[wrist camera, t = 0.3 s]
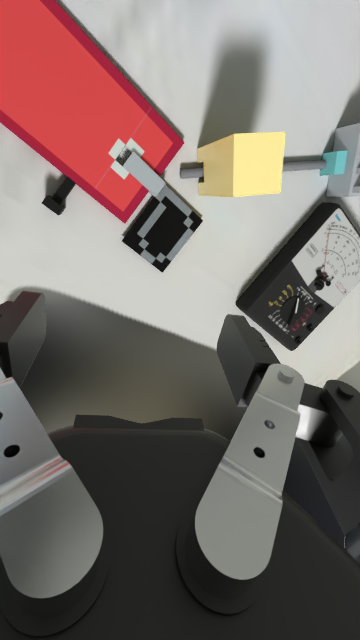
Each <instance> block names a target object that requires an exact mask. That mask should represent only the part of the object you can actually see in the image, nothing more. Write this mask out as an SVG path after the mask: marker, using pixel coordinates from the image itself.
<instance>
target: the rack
mask: <svg viewBox="0 0 360 640" xmlns="http://www.w3.org/2000/svg"><path fill="white" fill-rule="evenodd" d="M335 151H348V152H347V158H346V164H345V169H344V174H335V175H329V179H328V186H327V193H326V196H338V197H351V196H360V123H357V124H353V125H349V126H345V127H341V128H337V129H336V132H335V139H334V146H333V152H335Z"/></svg>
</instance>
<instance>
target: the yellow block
mask: <svg viewBox="0 0 360 640" xmlns="http://www.w3.org/2000/svg"><path fill="white" fill-rule="evenodd" d="M285 133H286V132H266V133H239V134H232V135H230V136H227V137H225V138H222V139H220V140H218V141H215V142H213V143H210V144H208V145H205V146H203V147H201V148H198V149H197V152H198V162H203V163H204V183H199V195H201V196H221V197H240V196H252V195H263V194H275V193H281V181H282V169H283V157H284V145H285Z"/></svg>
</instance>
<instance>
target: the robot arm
mask: <svg viewBox="0 0 360 640" xmlns="http://www.w3.org/2000/svg"><path fill="white" fill-rule="evenodd" d="M45 335H46V308H45V296H44V294H43V293H38V292H28V291H23V292H21V294H20V295H19V296H18V297H17V299H16V300H15V301H14V302H11V301H7V302H5V303H3V304H1V305H0V640H360V393H359V392H358V391H357V390H356V389H355V388H353V387H352V386H350V385H348V384H346V383H344V382H342V381H338V380H329V381H327V382H326V384H325V385H324V387H323V388H319V387H316V386H313V385H309V384H306V383H305V382H304V379H303V377H302V376H301V375H300V374H299V373H298V372H297V371H296V370H294V369H293V368H291V367H289V366H286V365H283V364H281V363H280V362H279V360H278V359H277V357H276V356H275V354H274V353H273V351H272V350H271V348H269V345H268V344H267V342H265V341H266V340H265V339H264V337H263V336H262V334H261V333H260V332H258V331H257V330H256V329H255V328H253V327H250V325H249V323H248V322H247V320H246V318H245V317H244V316H240V315H231V314H228V315H227V316H226V317H225V320H224V323H223V326H222V330H221V333H220V336H219V339H218V343H217V353H218V357H219V359H220V362H221V364H222V367H223V370H224V372H225V375H226V378H227V380H228V383H229V386H230V388H231V391H232V394H233V396H234V399H235V401H236V404H237V406H238V407H248V408H247V410H246V413H245V415H244V417H243V419H242V420H241V422H240V424H239V426H238V428H237V431H236V432H235V434H234V437H233V439H232V440H231V442H230V441H229V440H227V439H226V438H224V437H222V436H221V435H219V434H217V433H215V432H212V431H210V430H207V429H204V426H203V422H202V419H193V418H170V419H164V420H160V421H155V422H150V423H143V424H140V423H136V422H132V421H128V420H124V419H120V418H116V417H112V416H99V415H98V416H97V415H76V417H75V422H74V425H72V426H67V427H64V428H60V429H58V430H55V431H53V432H50V433H48V434H47V433H46V431H45V430H44V428H43V426H42V425H41V423H40V422H39V420H38V418H37V417H36V415H35V414H34V412H33V410H32V408H31V407H30V405H29V403H28V402H27V400H26V399H25V397H24V395H23V393H22V392H21V390H20V386H21V384H22V382H23V380H24V378H25V376H26V374H27V372H28V370H29V368H30V366H31V364H32V362H33V360H34V359H35V356H36V355H37V353H38V351H39V348H40V347H41V345H42V342H43V340H44V338H45ZM342 434H344V436H345V437H346V438H347V440H348V442H349V443H350V444H351V447H352V450H353V459H352V461H350V459H349V457H348V456H347V454H346V452H345V451H344V449H343V448H342V446H341V445H340V443H339V441H338V440H339V438H340V437H341V436H342ZM295 437H298V440H299V442H300V444H301V446H302V448H303V450H304V452H305V454H306V456H307V458H308V461H309V462H310V465H311V467H312V469H313V471H314V473H315V475H316V477H317V479H318V481H319V483H320V485H321V487H322V489H323V492H324V494H325V496H326V498H327V500H328V502H329V504H330V506H331V508H332V510H333V512H334V514H335V516H336V518H337V521H338V522H339V525H340V527H341V529H342V531H343V533H344V535H345V540H344V543H345V544H344V545H345V548H343V547H342V546H341V545H340V544H339V543H338V542H337V541H336V540H335V539H334V538H333V537H332V536H331V535H330V534H329V533H328V532H326V531H325V530H324V529H323V528H322V527H321V526H320V525H319V524H318V523H317V522H316V521H315V520H314V519H313V518H312V517H310V516H309V515H308V514H307V513H306V512H305V511H304V510H303V509H302V508H301V507H300V506H298V504H297V503H296V502H295V501H293V500H292V499H291V498H290V497H289V496H288V495H287V494H286V493H285V492H284V491H283V486H284V482H285V478H286V474H287V469H288V465H289V461H290V457H291V453H292V449H293V445H294V440H295Z"/></svg>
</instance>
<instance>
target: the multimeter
mask: <svg viewBox="0 0 360 640" xmlns="http://www.w3.org/2000/svg"><path fill="white" fill-rule="evenodd" d="M359 281H360V235H359V233H358V232H357V230H356V229H355V227H354V226H353V224H352V223H351V221H350V220H349V218H348V217H347V215H346V214H345V212H344V211H343V210H342V208H341V207H340V205H338V204H336V203H322V204H320V205H319V206H318V208H317V209H316V210H315V211H314V212H313V213H312V215H311V216H310V217H309V218H308V219H307V220H306V222H305V223H304V224H303V225H302V226H301V227H300V228H299V230H298V231H297V232H296V233H295V234H294V235H293V237H292V238H291V239H290V240H289V241H288V242H287V244H286V245H285V246H284V247H283V248H282V249H281V250H280V252H279V253H278V254H277V255H276V256H275V257H274V259H273V260H272V261H271V262H270V263H269V264H268V266H267V267H266V268H265V269H264V270H263V271H262V272H261V274H260V275H259V276H258V277H257V278H256V279H255V281H254V282H253V283H252V284H251V285H250V286H249V288H248V289H247V290H246V291H245V292H244V293H243V295H242V296H241V297H240V298H239V299H238V300H237V302H236V306H237V307H238V308H239V309H240V310H241V311H242V312H244V313H245V314H246V315H247V316H248V317H250V318H251V319H252V320H253V321H254V322H256V323H257V324H258V325H259V326H260V327H262V328H263V329H264V330H265V331H266V332H268V333H269V334H270V335H271V336H272V337H274V338H275V339H276V340H277V341H279V342H280V343H281V344H282V345H283V346H285V347H286V348H287V349H289V350H291V351H293V350H295V349H296V348H297V347H298V346H299V345H300V344H301V343H302V342H303V341H304V340H305V339H306V338H307V336H308V335H309V334H310V333H311V332H312V331H313V330H314V329H315V328H316V327H317V326H318V325H319V324H320V323H321V322H322V321H323V319H324V318H325V317H326V316H327V315H328V314H329V313H330V312H331V311H332V310H333V309H334V308H335V307H336V306H337V305H338V304H339V303H340V301H341V300H342V299H343V298H344V297H345V296H346V295H347V294H348V293H349V292H350V291H351V290H352V289H353V288H354V287H355V286H356V284H357V283H358V282H359Z"/></svg>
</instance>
